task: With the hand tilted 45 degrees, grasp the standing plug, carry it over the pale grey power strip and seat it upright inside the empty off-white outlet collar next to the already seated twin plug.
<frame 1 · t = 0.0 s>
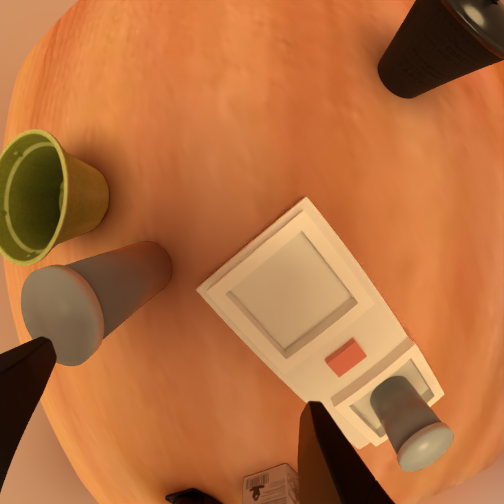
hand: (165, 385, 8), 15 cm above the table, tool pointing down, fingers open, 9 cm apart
drinking cup: (399, 77, 21), on the table
coffee box: (281, 483, 27), on the table
plug: (148, 267, 23), on the table
power strip: (340, 348, 24), on the table
plant pot: (84, 198, 23), on the table
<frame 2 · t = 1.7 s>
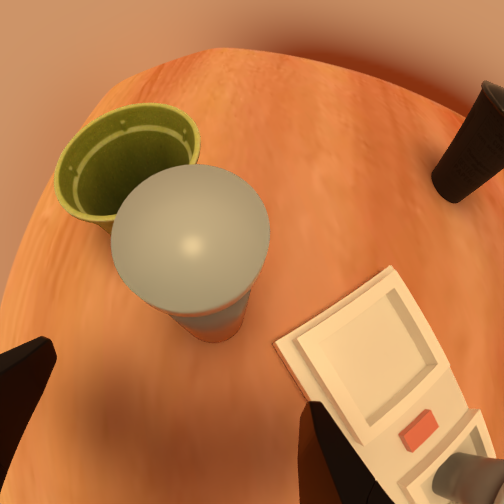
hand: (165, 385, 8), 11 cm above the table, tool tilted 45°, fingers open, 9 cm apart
drinking cup: (446, 186, 27), on the table
plug: (213, 312, 20), on the table
power strip: (406, 427, 17), on the table
plant pot: (153, 222, 23), on the table
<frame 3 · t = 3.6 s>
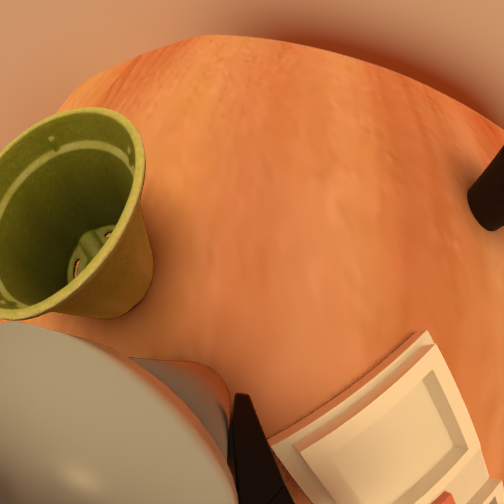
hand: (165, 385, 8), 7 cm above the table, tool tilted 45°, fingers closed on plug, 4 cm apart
drinking cup: (482, 209, 20), on the table
plug: (189, 400, 14), on the table, touching gripper
plant pot: (110, 270, 16), on the table
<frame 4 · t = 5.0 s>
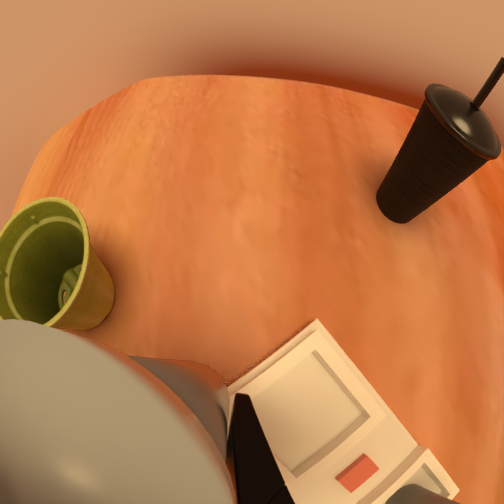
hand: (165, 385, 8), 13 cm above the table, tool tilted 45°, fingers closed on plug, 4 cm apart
drinking cup: (394, 204, 28), on the table
plug: (188, 400, 14), point 7 cm above the table, touching gripper
power strip: (348, 466, 18), on the table
plant pot: (86, 295, 22), on the table
when the fingers open (9 cm above the table, at t = 6.7 s): plug stays where it is, resting on power strip.
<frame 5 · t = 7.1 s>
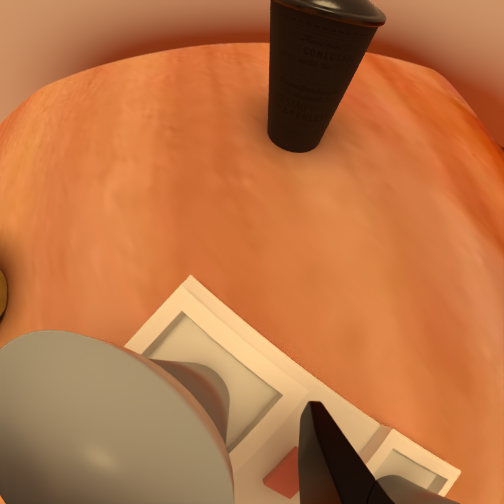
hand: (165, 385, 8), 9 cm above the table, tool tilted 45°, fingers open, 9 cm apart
drinking cup: (293, 135, 24), on the table
plug: (190, 399, 14), point 2 cm above the table, touching power strip
power strip: (287, 463, 14), on the table
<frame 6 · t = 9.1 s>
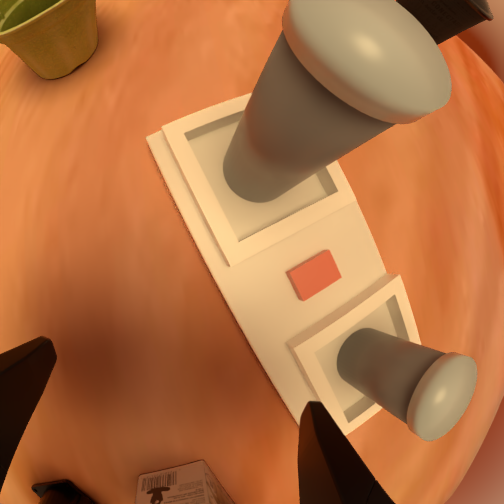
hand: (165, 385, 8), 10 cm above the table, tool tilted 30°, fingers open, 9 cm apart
drinking cup: (385, 51, 23), on the table
coffee box: (192, 495, 18), on the table
plug: (257, 168, 17), point 2 cm above the table, touching power strip
power strip: (302, 273, 20), on the table
plant pot: (67, 54, 16), on the table
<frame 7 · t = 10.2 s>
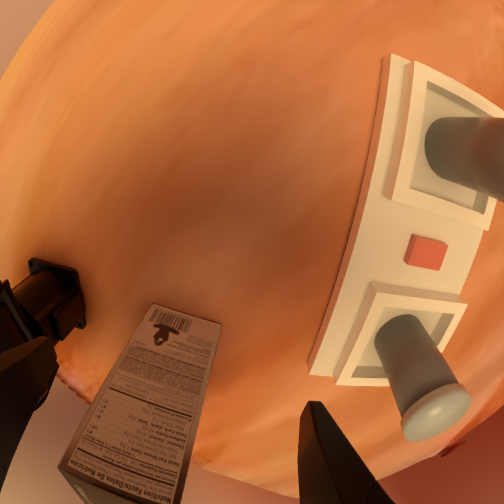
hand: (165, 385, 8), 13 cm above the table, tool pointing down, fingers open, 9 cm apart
coffee box: (179, 348, 24), on the table
plug: (449, 148, 15), point 2 cm above the table, touching power strip
power strip: (415, 243, 19), on the table
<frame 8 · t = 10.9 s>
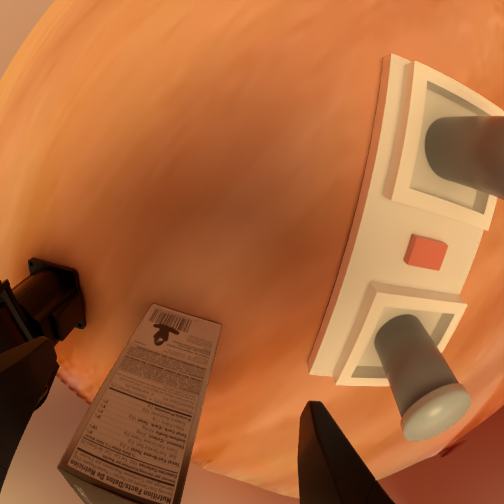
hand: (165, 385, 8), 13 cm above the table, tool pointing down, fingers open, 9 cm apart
coffee box: (179, 348, 24), on the table
plug: (449, 148, 15), point 2 cm above the table, touching power strip
power strip: (415, 243, 19), on the table
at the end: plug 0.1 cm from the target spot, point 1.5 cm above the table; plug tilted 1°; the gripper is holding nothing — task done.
